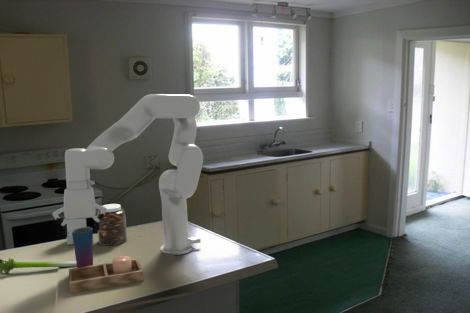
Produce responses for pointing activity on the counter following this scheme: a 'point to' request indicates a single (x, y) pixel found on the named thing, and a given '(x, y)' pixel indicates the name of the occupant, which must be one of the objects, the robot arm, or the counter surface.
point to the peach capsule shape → (122, 265)
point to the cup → (83, 246)
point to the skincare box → (74, 225)
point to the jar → (112, 226)
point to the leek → (32, 265)
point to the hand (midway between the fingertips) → (81, 234)
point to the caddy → (102, 276)
